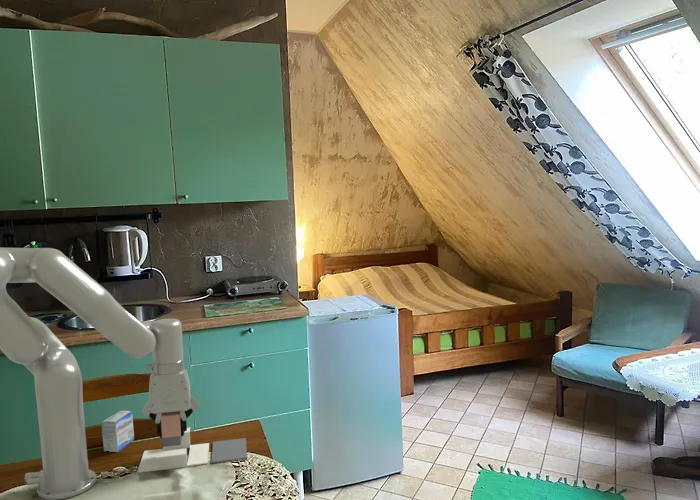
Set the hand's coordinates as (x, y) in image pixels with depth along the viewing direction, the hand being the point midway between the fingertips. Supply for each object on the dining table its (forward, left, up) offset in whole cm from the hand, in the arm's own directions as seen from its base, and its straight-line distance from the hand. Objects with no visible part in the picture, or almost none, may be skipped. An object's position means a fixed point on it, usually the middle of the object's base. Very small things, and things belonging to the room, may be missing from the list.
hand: (172, 434), depth 144 cm
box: (0, 0, -2) cm, 2 cm away
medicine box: (-16, +12, -7) cm, 21 cm away
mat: (+14, 0, -7) cm, 16 cm away
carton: (0, 0, -7) cm, 7 cm away
